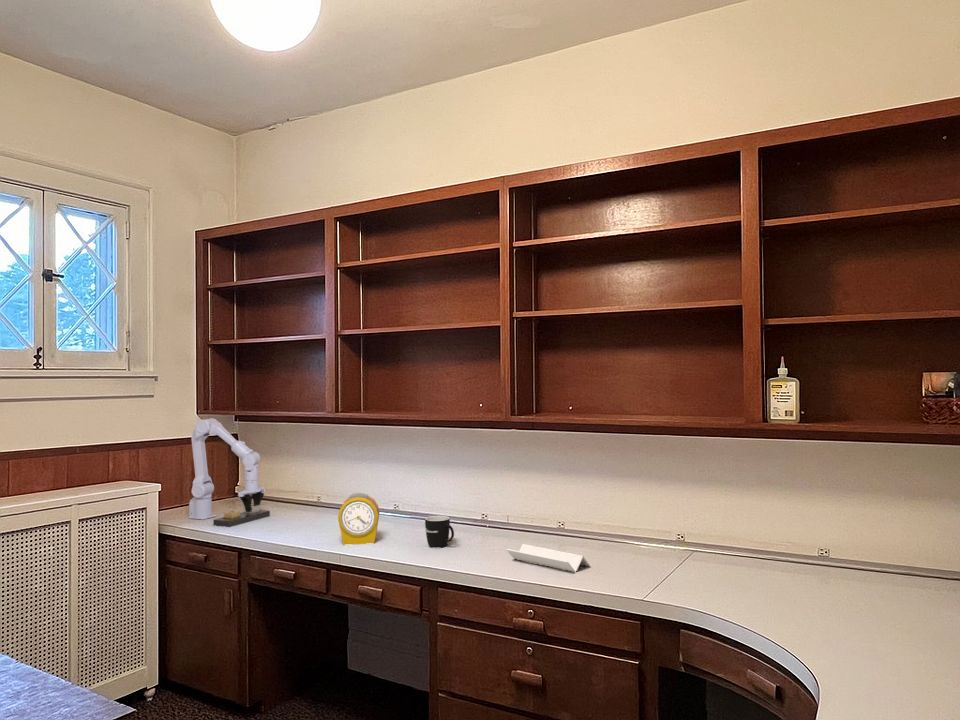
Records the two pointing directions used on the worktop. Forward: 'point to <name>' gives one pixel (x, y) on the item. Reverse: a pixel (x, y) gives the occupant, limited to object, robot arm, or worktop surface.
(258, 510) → the cube with round knob
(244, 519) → the dark grey socket board
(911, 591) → the worktop surface
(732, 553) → the worktop surface
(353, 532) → the alarm clock
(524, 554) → the z bracket
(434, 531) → the mug
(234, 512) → the yellow block with knob
